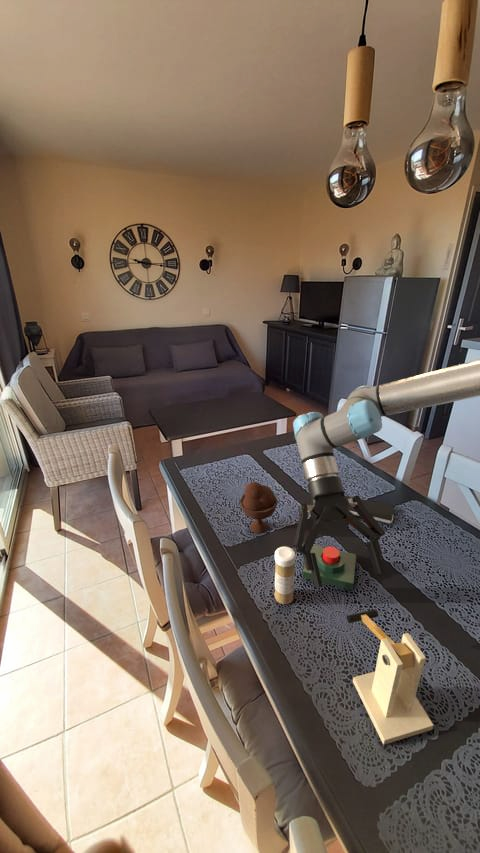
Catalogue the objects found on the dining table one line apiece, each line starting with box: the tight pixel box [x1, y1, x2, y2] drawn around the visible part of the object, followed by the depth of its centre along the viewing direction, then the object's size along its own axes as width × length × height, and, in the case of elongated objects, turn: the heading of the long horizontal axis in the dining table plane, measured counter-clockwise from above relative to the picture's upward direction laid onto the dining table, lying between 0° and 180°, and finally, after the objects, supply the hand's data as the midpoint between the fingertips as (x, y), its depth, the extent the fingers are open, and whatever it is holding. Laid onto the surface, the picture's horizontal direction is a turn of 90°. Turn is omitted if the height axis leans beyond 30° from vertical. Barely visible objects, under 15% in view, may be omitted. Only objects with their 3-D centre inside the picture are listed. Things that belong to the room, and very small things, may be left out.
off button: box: [323, 546, 340, 564], centre depth 90 cm, size 4×4×2 cm
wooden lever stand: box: [352, 632, 434, 746], centre depth 60 cm, size 10×9×15 cm
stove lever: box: [346, 609, 414, 670], centre depth 64 cm, size 14×6×2 cm, turn 11°
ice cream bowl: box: [239, 481, 279, 534], centre depth 105 cm, size 11×11×15 cm
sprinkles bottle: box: [274, 546, 297, 605], centre depth 82 cm, size 5×5×14 cm
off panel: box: [302, 544, 357, 591], centre depth 91 cm, size 12×10×4 cm
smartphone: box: [345, 495, 395, 524], centre depth 113 cm, size 8×1×15 cm
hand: (349, 580), depth 74 cm, fingers open, 13 cm apart
